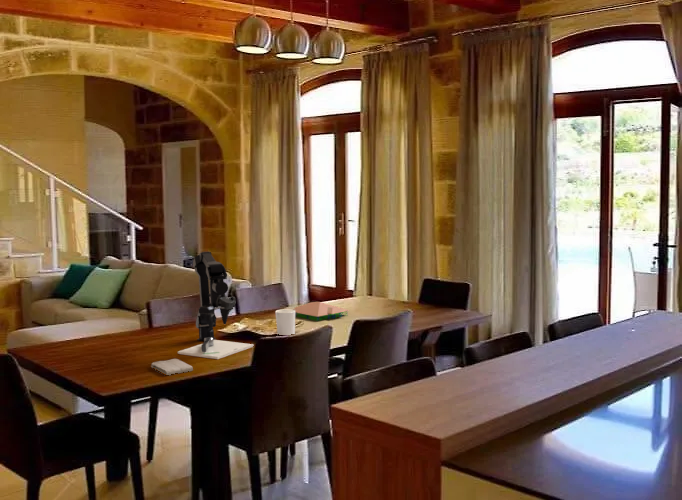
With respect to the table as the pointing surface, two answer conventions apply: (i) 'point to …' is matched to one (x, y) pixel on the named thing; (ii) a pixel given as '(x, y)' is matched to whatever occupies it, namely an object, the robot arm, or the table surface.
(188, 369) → the washcloth
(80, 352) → the table surface
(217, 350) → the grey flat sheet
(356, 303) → the table surface
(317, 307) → the house
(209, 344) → the tuner lever
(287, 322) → the candle holder
